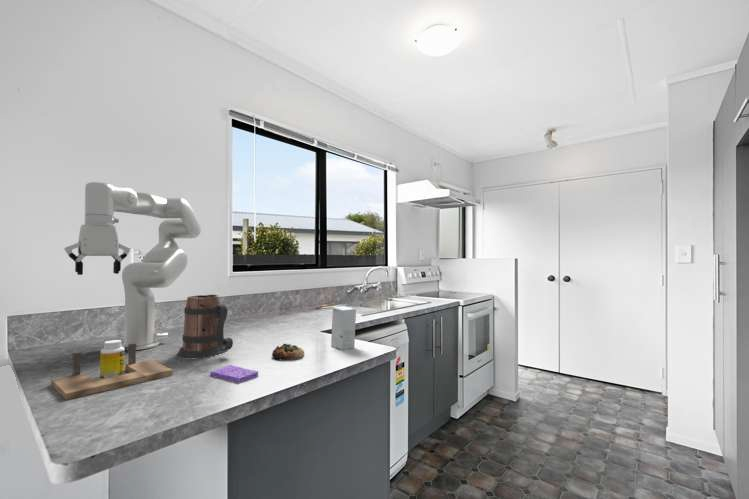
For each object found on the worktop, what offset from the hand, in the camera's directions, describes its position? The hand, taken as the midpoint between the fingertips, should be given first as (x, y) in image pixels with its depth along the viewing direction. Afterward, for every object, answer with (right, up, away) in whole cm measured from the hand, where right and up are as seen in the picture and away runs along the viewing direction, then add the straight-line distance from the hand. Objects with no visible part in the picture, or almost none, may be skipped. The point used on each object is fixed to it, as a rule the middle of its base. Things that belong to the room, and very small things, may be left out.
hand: (98, 274), depth 119 cm
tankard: (+31, -29, +10) cm, 43 cm away
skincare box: (+77, -29, +20) cm, 85 cm away
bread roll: (+60, -29, +7) cm, 67 cm away
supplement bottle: (+16, -28, -16) cm, 36 cm away
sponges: (+49, -29, -13) cm, 58 cm away
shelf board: (+17, -28, -17) cm, 37 cm away
